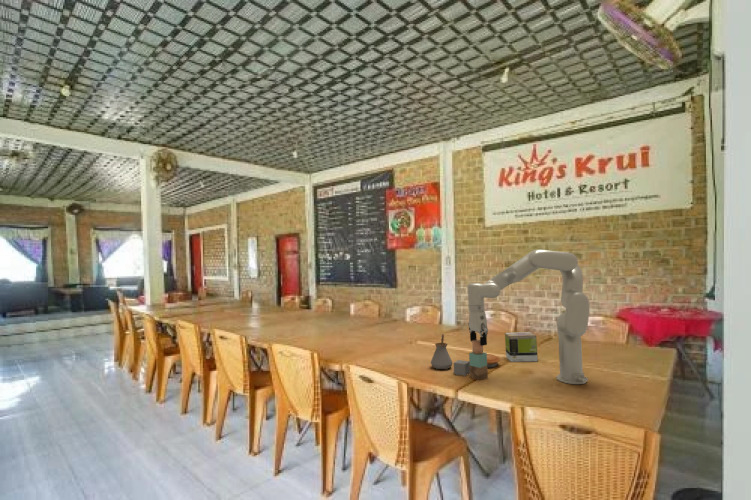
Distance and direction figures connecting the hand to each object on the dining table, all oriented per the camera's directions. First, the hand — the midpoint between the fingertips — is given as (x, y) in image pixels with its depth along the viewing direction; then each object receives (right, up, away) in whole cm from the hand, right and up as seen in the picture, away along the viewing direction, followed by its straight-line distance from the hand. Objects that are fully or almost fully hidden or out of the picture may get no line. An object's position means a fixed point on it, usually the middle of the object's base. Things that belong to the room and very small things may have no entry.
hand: (478, 343), depth 185 cm
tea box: (+32, -17, +28) cm, 46 cm away
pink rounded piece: (0, -5, 0) cm, 5 cm away
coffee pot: (-14, -18, +22) cm, 32 cm away
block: (-7, -17, +6) cm, 20 cm away
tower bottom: (0, -17, 0) cm, 17 cm away
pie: (+9, -17, +21) cm, 28 cm away
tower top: (0, -11, 0) cm, 11 cm away
